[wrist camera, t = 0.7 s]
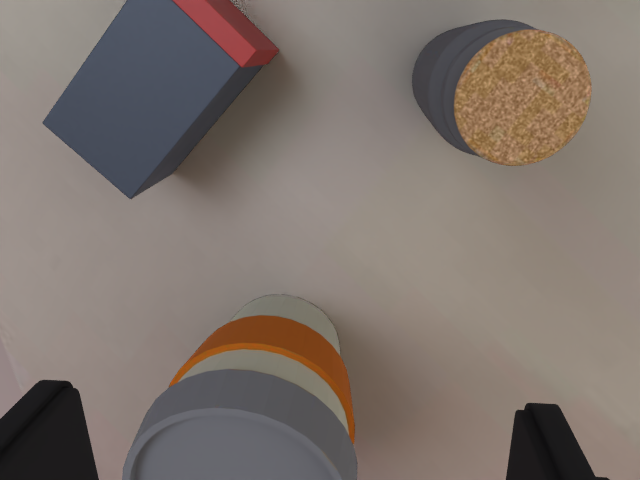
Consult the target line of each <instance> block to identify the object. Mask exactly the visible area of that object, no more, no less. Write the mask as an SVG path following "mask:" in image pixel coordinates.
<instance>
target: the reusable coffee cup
mask: <svg viewBox="0 0 640 480" xmlns="http://www.w3.org/2000/svg"><path fill="white" fill-rule="evenodd" d="M354 434H355V424H354V416H353V408H352V400H351V392H350V384H349V379H348V374H347V370H346V367H345V365H344V363H343V361H342V359H341V355H340V346H339V340H338V335H337V332H336V330H335V328H334V326H333V324H332V323H331V321H330V320H329V318H328V317H327V316H326V315H325V314H324V313H323V312H322V311H321V310H320V309H319V308H317V307H316V306H314V305H313V304H311V303H310V302H308V301H305V300H303V299H300V298H297V297H293V296H289V295H270V296H264V297H261V298H258V299H255V300H253V301H252V302H250V303H248V304H246V305H245V306H244V307H243V308H242V309H241V310H240V311H238V313H237V314H236V315H235V316H234V317H233V318H232V320H231V321H230V322H229V323H227V324H226V325H224V326H222V327H220V328H219V329H217V330H216V331H215V332H214V333H213V334H212V335H211V336H209V337H208V338H207V339H206V341H205V342H204V343H203V344H202V345H201V346H200V347H199V348H198V350H197V351H196V352H195V353H194V354H193V355H192V356H191V357H190V359H189V360H188V361H187V362H186V363H185V364H184V365H183V366H182V368H181V369H180V370H179V371H178V373H177V374H176V376H175V377H174V378H173V380H172V381H171V383H170V385H169V388H168V389H167V390H166V391H165V392H163V393H162V394H161V395H160V396H159V397H158V398H157V399H156V400H155V401H154V403H153V404H152V406H151V407H150V409H149V410H148V412H147V413H146V415H145V417H144V419H143V422H142V424H141V426H140V428H139V430H138V433H137V435H136V437H135V439H134V442H133V444H132V446H131V448H130V450H129V453H128V456H127V458H126V461H125V464H124V467H123V476H122V480H357V459H356V454H355V450H354V445H353V444H354Z"/></svg>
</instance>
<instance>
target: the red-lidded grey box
mask: <svg viewBox="0 0 640 480" xmlns="http://www.w3.org/2000/svg"><path fill="white" fill-rule="evenodd" d="M278 51H279V49H278V48H277V47H276V46H275V45H274V44H273V43H272V42H271V41H270V40H269V39H268V38H267V37H266V36H265V35H264V34H263V33H262V32H261V31H260V30H259V29H258V28H257V27H256V26H255V25H254V24H253V23H252V22H251V21H250V20H249V19H248V18H247V17H246V16H245V15H244V14H243V13H242V12H241V11H240V10H239V9H238V8H237V7H236V6H235V5H234V4H233V3H232V2H231V1H230V0H127V1H126V3H125V4H124V6H123V7H122V9H121V10H120V12H119V13H118V14H117V16H116V17H115V19H114V20H113V22H112V23H111V24H110V26H109V27H108V29H107V30H106V32H105V33H104V35H103V36H102V37H101V39H100V40H99V42H98V43H97V45H96V46H95V48H94V49H93V50H92V52H91V53H90V55H89V56H88V58H87V59H86V61H85V62H84V63H83V65H82V66H81V68H80V69H79V71H78V72H77V74H76V75H75V76H74V78H73V79H72V81H71V82H70V84H69V85H68V86H67V88H66V89H65V91H64V92H63V94H62V95H61V97H60V98H59V99H58V101H57V102H56V104H55V105H54V107H53V108H52V110H51V111H50V112H49V114H48V115H47V117H46V118H45V120H44V121H43V124H44V125H45V126H46V127H47V128H48V129H50V130H51V131H52V132H53V133H54V134H55V135H57V136H58V137H59V138H60V139H61V140H62V141H64V142H65V143H66V144H67V145H68V146H69V147H70V148H72V149H73V150H74V151H75V152H76V153H77V154H79V155H80V156H81V157H82V158H83V159H84V160H85V161H87V162H88V163H89V164H90V165H91V166H92V167H94V168H95V169H96V170H97V171H98V172H99V173H101V174H102V175H103V176H104V177H105V178H106V179H107V180H109V181H110V182H111V183H112V184H113V185H114V186H116V187H117V188H118V189H119V190H120V191H121V192H122V193H124V194H125V195H126V196H127V197H128V198H129V199H132V198H133V197H135V196H137V195H138V194H140V193H142V192H143V191H145V190H146V189H148V188H150V187H151V186H153V185H155V184H156V183H158V182H159V181H161V180H163V179H164V178H166V177H168V176H169V175H171V174H172V173H173V172H174V171H175V169H176V168H177V167H178V166H179V165H180V164H181V162H182V161H183V160H184V159H185V158H186V156H187V155H188V154H189V153H190V152H191V150H192V149H193V148H194V147H195V146H196V145H197V143H198V142H199V141H200V140H201V139H202V137H203V136H204V135H205V134H206V133H207V131H208V130H209V129H210V128H211V127H212V126H213V124H214V123H215V122H216V121H217V120H218V118H219V117H220V116H221V115H222V114H223V112H224V111H225V110H226V109H227V108H228V107H229V105H230V104H231V103H232V102H233V101H234V99H235V98H236V97H237V96H238V95H239V94H240V92H241V91H242V90H243V89H244V88H245V86H246V85H247V84H248V83H249V82H250V80H251V79H252V78H253V77H254V76H255V75H256V73H257V72H258V71H259V70H260V69H261V67H262V66H263V65H265V64H268V63H269V62H270V61H271V59H272V58H273V57H274V56H275V55H276V53H277V52H278Z"/></svg>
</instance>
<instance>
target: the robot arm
mask: <svg viewBox="0 0 640 480" xmlns="http://www.w3.org/2000/svg"><path fill="white" fill-rule="evenodd" d="M0 480H99V479H98V474H97V470H96V465H95V461H94V456H93V452H92V447H91V443H90V438H89V434H88V429H87V425H86V420H85V416H84V411H83V407H82V402H81V398H80V394H79V391H78V390H77V389H76V388H73V386H72V384H71V383H70V382H68V381H57V380H41V381H39V382H38V383H36V384H35V385H34V386H33V387H32V388H31V389H30V390H29V391H28V392H27V393H26V394H25V395H24V396H23V397H22V398H21V399H20V400H19V401H18V402H17V403H16V404H15V405H14V406H13V407H12V408H11V409H10V410H9V411H8V412H7V413H6V414H5V415H4V416H3V417H2V418H1V419H0ZM506 480H609V479H608V478H604V477H595V475H594V473H593V471H592V469H591V467H590V465H589V463H588V461H587V459H586V458H585V456H584V454H583V452H582V450H581V448H580V446H579V444H578V442H577V440H576V438H575V436H574V434H573V432H572V430H571V428H570V426H569V424H568V423H567V421H566V419H565V417H564V415H563V413H562V411H561V409H560V408H559V406H558V405H556V404H540V403H527V404H526V406H525V409H524V410H517V411H516V413H515V418H514V426H513V433H512V440H511V447H510V454H509V462H508V469H507V476H506Z"/></svg>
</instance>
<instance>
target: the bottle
mask: <svg viewBox="0 0 640 480" xmlns="http://www.w3.org/2000/svg"><path fill="white" fill-rule="evenodd" d="M412 86H413V92H414V96H415V99H416V101H417V103H418V105H419V107H420V108H421V110H422V111H423V113H424V114H425V116H426V117H427V118H428V120H429V121H430V122H431V124H432V125H433V126H434V128H435V129H436V130H437V131H438V133H439V134H440V135H441V136H442V137H443V138H444V139H445V140H446V141H447V142H449V143H450V144H451V145H453V146H454V147H455V148H457V149H459V150H461V151H463V152H466V153H469V154H472V155H477V156H479V157H482V158H484V159H486V160H488V161H491V162H494V163H498V164H501V165H508V166H521V165H527V164H531V163H535V162H539V161H541V160H543V159H545V158H548V157H550V156H551V155H553V154H555V153H556V152H557V151H559V150H560V149H562V148H563V147H564V146H565V145H566V144H567V143H568V142H569V141H570V140H571V139H572V138H573V137H574V136H575V134H576V133H577V132H578V130H579V129H580V127H581V125H582V123H583V121H584V120H585V117H586V114H587V111H588V108H589V104H590V100H591V80H590V74H589V71H588V68H587V65H586V63H585V61H584V59H583V57H582V56H581V54H580V53H579V52H578V51H577V49H576V48H575V47H574V46H573V45H572V44H570V43H569V42H568V41H567V40H565V39H564V38H562V37H560V36H558V35H556V34H553V33H549V32H545V31H541V30H538V29H536V28H533V27H532V26H529V25H527V24H524V23H521V22H518V21H512V20H491V21H484V22H480V23H475V24H471V25H467V26H463V27H459V28H455V29H452V30H449V31H447V32H445V33H442V34H440V35H439V36H437V37H436V38H434V39H433V40H432V41H430V42H429V43H428V44H427V45H426V46H425V48H424V49H423V50H422V52H421V53H420V55H419V57H418V59H417V61H416V63H415V66H414V70H413V75H412Z"/></svg>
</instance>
